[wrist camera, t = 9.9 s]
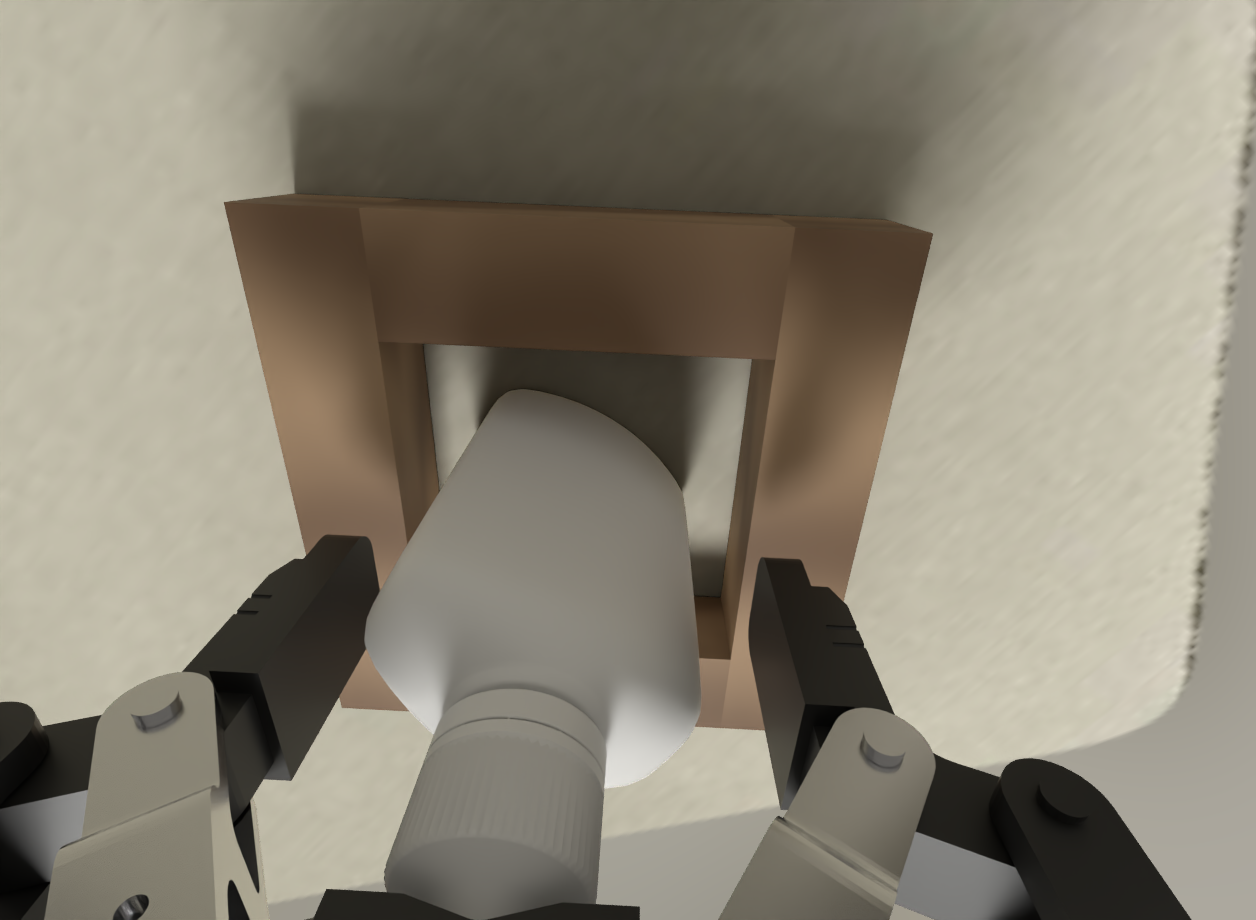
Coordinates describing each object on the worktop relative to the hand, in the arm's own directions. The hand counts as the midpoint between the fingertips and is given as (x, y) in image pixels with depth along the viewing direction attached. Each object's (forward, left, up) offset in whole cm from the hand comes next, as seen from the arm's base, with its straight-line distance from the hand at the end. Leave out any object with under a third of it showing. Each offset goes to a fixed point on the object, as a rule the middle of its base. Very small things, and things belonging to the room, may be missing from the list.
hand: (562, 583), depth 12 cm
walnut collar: (0, 0, -5) cm, 5 cm away
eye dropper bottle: (0, 0, -5) cm, 5 cm away
